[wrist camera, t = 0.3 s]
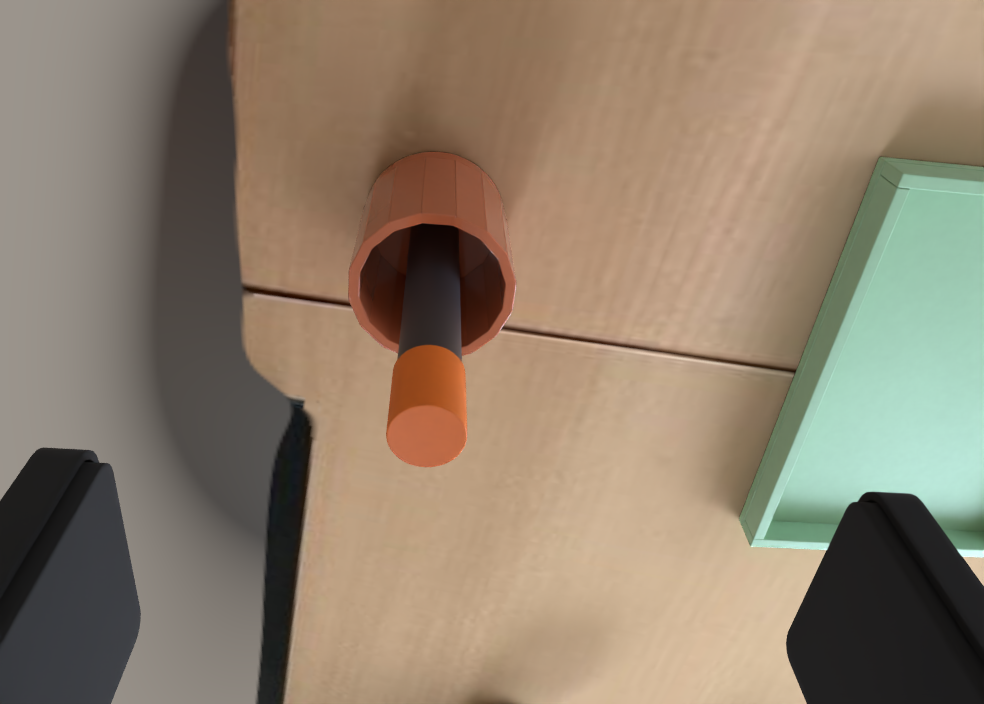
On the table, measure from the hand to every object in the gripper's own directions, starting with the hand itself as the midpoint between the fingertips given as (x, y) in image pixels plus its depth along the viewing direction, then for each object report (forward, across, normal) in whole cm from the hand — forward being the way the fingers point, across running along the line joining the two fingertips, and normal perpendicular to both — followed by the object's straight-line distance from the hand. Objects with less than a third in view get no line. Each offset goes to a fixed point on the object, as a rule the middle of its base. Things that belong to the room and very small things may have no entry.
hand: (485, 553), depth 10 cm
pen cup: (+24, +1, +6) cm, 25 cm away
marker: (+24, +1, +6) cm, 24 cm away
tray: (+25, -25, +12) cm, 37 cm away
